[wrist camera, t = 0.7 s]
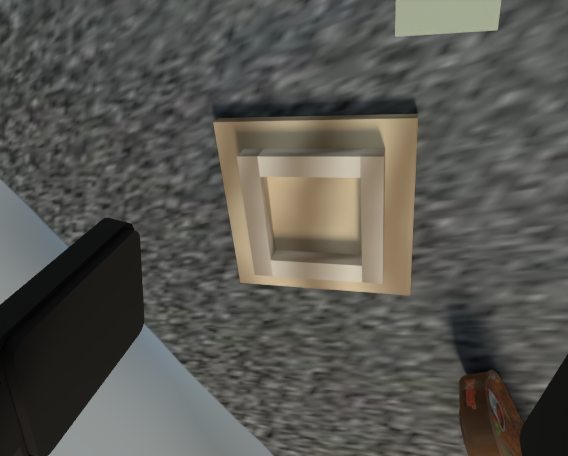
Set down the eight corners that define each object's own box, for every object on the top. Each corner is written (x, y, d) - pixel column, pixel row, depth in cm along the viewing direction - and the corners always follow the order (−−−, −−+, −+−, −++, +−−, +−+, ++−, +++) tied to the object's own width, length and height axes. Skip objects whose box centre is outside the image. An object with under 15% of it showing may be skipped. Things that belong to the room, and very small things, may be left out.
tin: (544, 464, 43) (567, 563, 36) (508, 468, 45) (524, 564, 38) (486, 346, 38) (501, 435, 31) (448, 355, 40) (454, 441, 33)
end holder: (417, 113, 31) (417, 125, 28) (410, 287, 37) (409, 307, 35) (218, 118, 34) (205, 128, 32) (244, 275, 41) (234, 293, 39)
